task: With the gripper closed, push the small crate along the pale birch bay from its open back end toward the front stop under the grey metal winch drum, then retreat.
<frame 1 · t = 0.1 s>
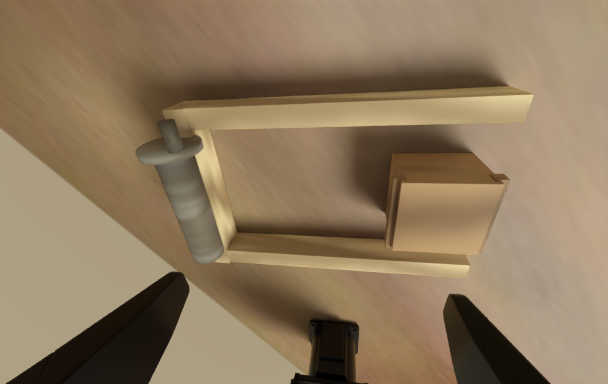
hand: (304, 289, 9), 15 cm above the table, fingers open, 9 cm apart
crate: (424, 185, 22), on the table
bay: (331, 184, 23), on the table
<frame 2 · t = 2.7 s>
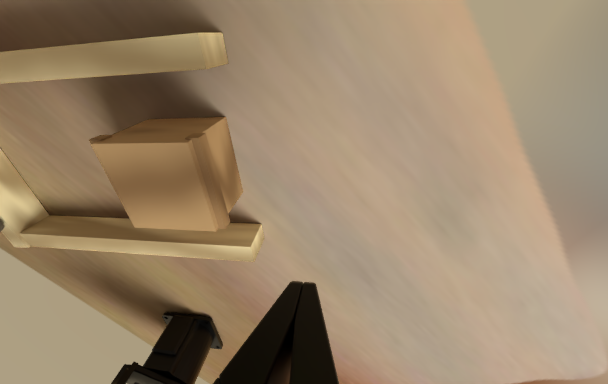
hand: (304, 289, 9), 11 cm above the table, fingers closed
crate: (199, 156, 20), on the table
bay: (108, 158, 21), on the table
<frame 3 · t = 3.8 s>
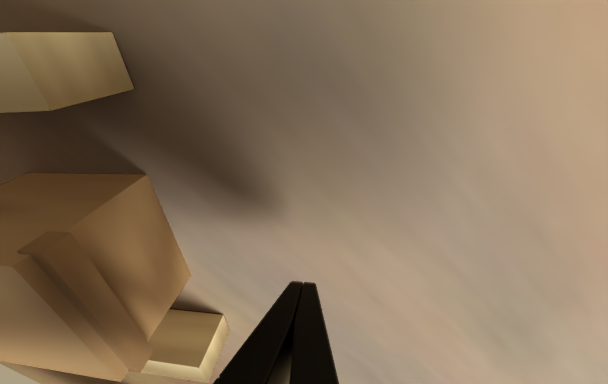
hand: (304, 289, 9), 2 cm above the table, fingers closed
crate: (118, 227, 13), on the table
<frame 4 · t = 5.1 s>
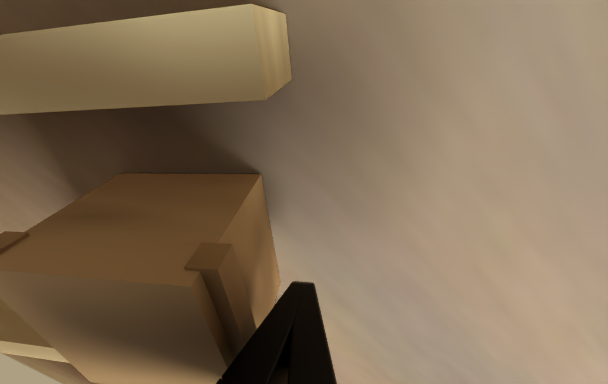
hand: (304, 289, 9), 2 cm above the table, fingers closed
crate: (207, 233, 12), on the table, touching gripper
bay: (71, 228, 13), on the table
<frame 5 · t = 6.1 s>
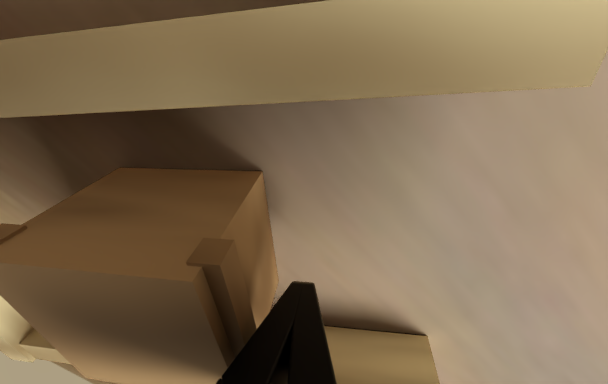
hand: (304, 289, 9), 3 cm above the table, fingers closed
crate: (206, 229, 11), on the table, touching gripper
bay: (174, 234, 12), on the table
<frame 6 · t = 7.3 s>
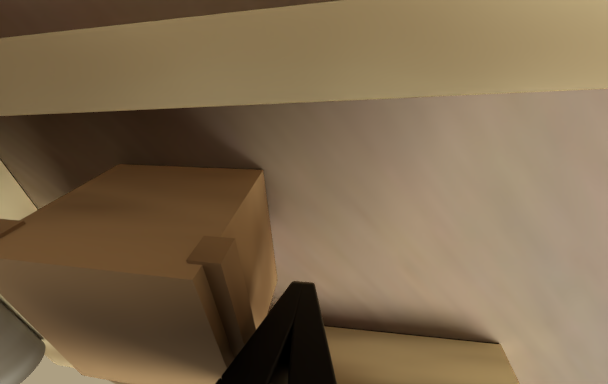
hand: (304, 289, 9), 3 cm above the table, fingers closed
crate: (206, 227, 11), on the table, touching gripper
bay: (243, 236, 11), on the table
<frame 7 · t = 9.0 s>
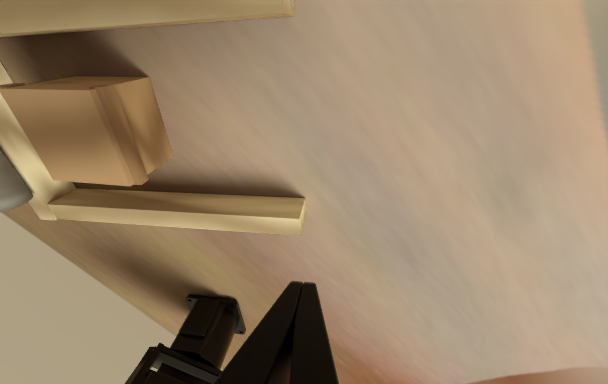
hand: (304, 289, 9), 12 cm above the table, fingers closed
crate: (128, 118, 20), on the table
bay: (148, 124, 20), on the table
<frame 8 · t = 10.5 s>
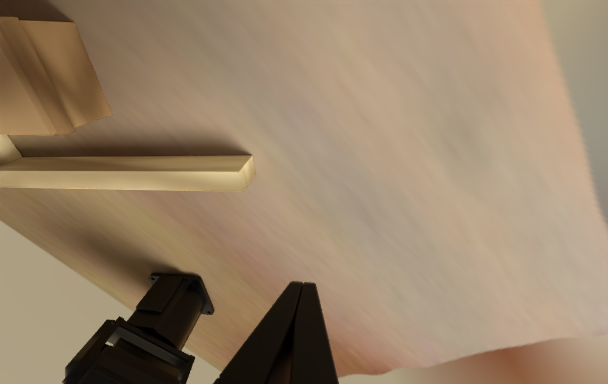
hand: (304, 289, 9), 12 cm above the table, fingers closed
crate: (61, 73, 19), on the table
bay: (81, 78, 19), on the table
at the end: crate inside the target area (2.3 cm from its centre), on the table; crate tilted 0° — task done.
